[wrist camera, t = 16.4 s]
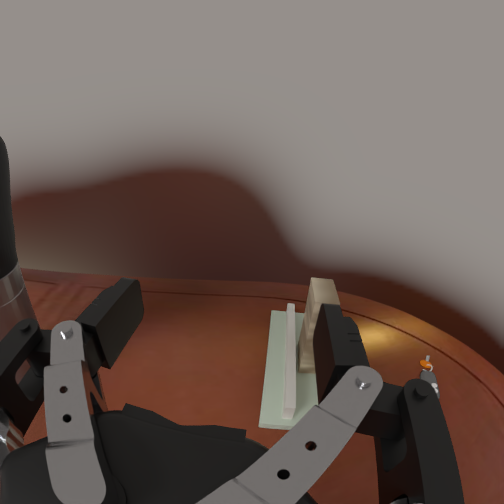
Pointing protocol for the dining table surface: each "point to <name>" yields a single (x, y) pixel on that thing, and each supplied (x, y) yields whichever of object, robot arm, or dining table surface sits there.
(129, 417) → the robot arm
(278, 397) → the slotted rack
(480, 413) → the dining table surface
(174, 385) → the dining table surface
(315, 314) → the beige tall block
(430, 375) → the key chain
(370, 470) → the dining table surface
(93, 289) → the dining table surface
